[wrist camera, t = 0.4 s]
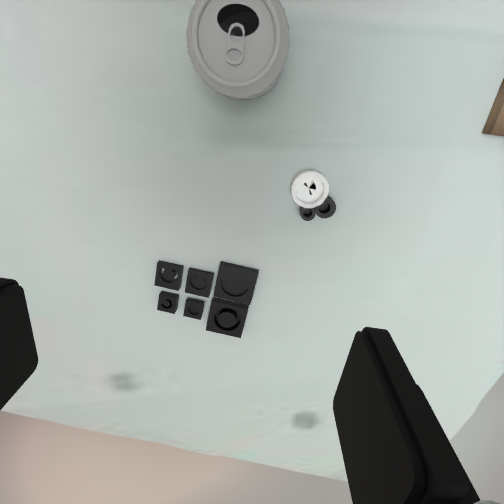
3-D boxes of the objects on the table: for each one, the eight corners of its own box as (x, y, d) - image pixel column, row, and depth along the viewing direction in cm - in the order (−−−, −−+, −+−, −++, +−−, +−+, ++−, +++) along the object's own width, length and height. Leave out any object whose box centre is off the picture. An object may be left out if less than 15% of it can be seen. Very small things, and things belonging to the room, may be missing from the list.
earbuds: (340, 175, 38) (346, 179, 35) (286, 341, 47) (287, 356, 44) (177, 135, 38) (168, 136, 35) (154, 311, 47) (146, 324, 44)
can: (289, 19, 31) (300, -27, 20) (277, 104, 34) (281, 104, 23) (213, 8, 31) (182, -44, 20) (207, 94, 34) (178, 89, 23)
